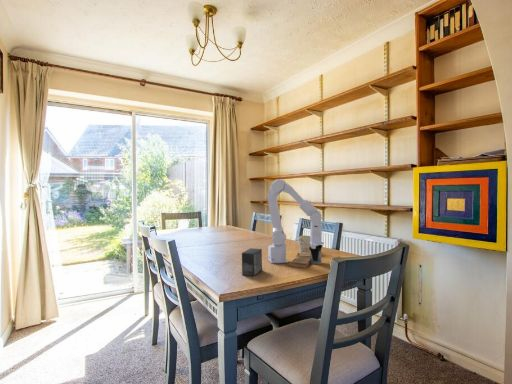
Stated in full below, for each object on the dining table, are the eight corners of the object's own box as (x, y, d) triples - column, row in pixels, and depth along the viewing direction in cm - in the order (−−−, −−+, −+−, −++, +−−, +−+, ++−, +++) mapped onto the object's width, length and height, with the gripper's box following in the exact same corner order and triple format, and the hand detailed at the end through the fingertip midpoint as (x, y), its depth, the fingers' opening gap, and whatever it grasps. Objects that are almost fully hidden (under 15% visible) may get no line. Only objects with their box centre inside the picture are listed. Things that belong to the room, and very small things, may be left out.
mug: (295, 252, 174) (294, 236, 174) (309, 250, 182) (309, 234, 182) (305, 255, 168) (305, 238, 168) (319, 252, 175) (319, 236, 175)
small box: (250, 269, 141) (249, 247, 141) (262, 270, 139) (262, 248, 138) (241, 275, 131) (241, 252, 131) (254, 276, 129) (254, 253, 129)
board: (306, 267, 142) (306, 263, 142) (290, 266, 145) (290, 262, 145) (315, 256, 164) (315, 253, 164) (301, 255, 167) (301, 252, 167)
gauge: (320, 264, 148) (320, 252, 148) (296, 262, 152) (296, 251, 152) (321, 262, 152) (321, 251, 151) (297, 260, 156) (297, 249, 156)
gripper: (321, 236, 142) (321, 263, 142) (326, 232, 155) (326, 257, 156) (307, 235, 145) (307, 262, 145) (312, 231, 158) (313, 256, 158)
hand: (316, 259), depth 151 cm, fingers closed on gauge, 4 cm apart
